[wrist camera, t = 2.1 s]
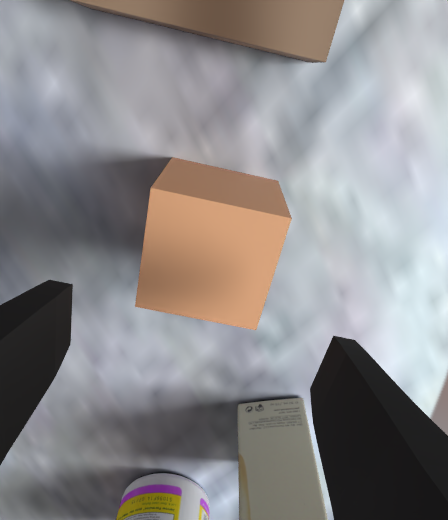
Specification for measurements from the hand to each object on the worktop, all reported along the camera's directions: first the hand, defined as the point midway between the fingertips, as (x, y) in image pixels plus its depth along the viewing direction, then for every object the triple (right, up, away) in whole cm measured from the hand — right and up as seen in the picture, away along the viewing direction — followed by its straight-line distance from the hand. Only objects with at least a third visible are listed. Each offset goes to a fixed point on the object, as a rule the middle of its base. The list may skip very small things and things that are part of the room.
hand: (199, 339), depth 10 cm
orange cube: (0, +4, +8) cm, 9 cm away
